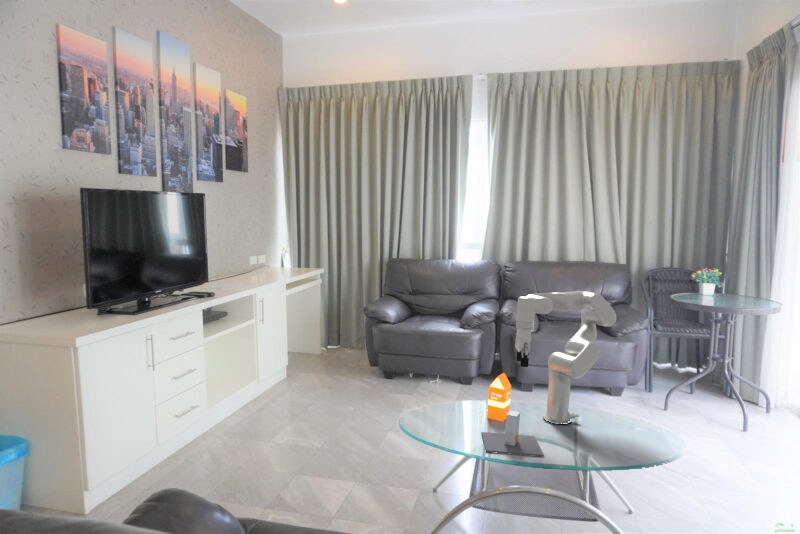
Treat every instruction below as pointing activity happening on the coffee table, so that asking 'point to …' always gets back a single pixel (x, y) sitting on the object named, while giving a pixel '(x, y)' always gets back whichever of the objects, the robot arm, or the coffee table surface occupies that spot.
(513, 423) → the skincare box
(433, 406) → the coffee table surface
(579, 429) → the coffee table surface
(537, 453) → the mat
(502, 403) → the orange juice
